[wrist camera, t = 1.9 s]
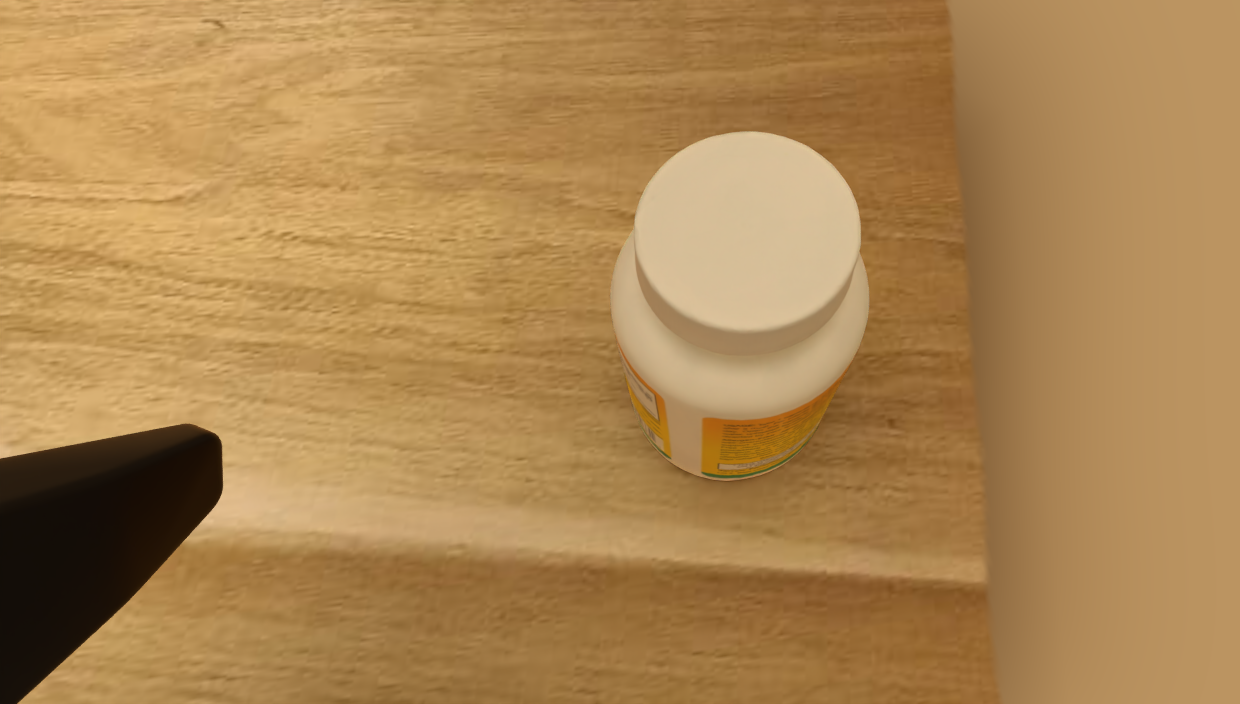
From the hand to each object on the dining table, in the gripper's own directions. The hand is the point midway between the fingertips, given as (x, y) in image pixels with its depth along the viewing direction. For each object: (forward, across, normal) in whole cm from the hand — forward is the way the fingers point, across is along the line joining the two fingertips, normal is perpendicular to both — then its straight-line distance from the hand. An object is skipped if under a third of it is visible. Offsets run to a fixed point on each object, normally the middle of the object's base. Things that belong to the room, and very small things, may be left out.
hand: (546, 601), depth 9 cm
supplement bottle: (+14, 0, +4) cm, 15 cm away
